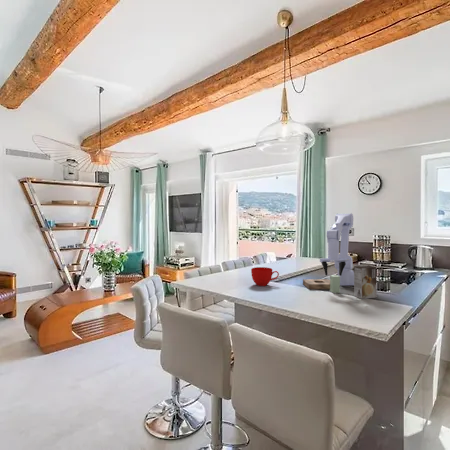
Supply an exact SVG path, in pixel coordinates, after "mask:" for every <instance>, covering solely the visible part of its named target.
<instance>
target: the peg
mask: <svg viewBox="0 0 450 450" xmlns="http://www.w3.org/2000/svg"><path fill="white" fill-rule="evenodd" d="M329 280H330V289H329V292H331V293H333V294H340V293H341V286H340V276H338V275H337V274H336V275H333V274H332V275H331V274H330V275H329Z"/></svg>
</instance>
